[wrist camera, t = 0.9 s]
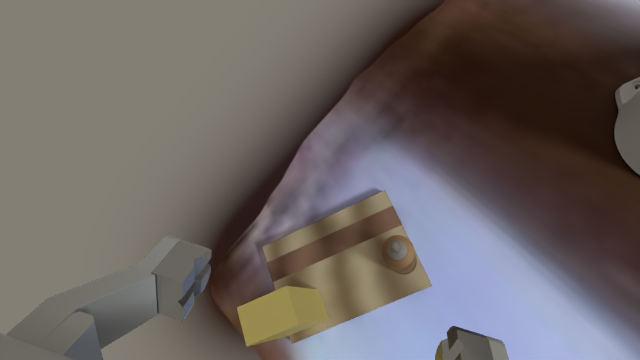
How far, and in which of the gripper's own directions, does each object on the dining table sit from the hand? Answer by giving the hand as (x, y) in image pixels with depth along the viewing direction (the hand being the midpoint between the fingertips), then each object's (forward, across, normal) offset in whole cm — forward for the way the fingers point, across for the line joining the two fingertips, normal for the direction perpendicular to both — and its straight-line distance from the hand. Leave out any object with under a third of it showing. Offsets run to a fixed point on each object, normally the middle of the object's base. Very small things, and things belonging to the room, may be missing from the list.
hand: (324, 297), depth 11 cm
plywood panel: (+28, -2, +26) cm, 38 cm away
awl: (+28, -10, +21) cm, 36 cm away
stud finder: (+23, +1, +31) cm, 38 cm away
